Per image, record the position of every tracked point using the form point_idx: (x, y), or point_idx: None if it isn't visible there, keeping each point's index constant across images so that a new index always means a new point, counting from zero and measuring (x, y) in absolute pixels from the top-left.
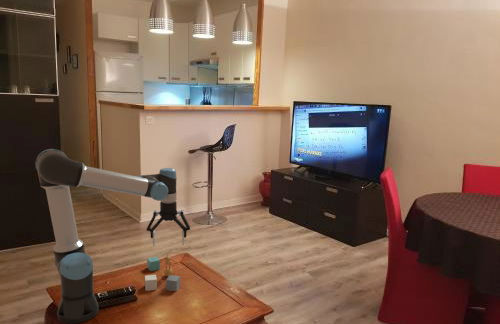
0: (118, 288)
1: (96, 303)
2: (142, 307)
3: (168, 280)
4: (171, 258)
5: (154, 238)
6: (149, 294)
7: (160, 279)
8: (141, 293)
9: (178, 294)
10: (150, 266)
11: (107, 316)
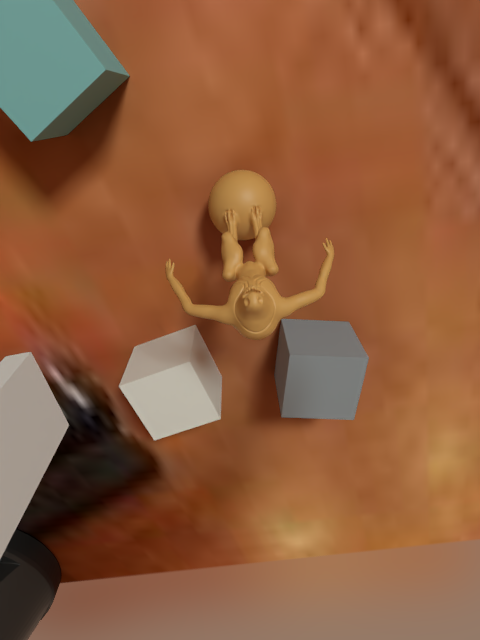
0: None
1: (32, 595)
2: (211, 510)
3: (299, 417)
4: (297, 308)
5: (12, 530)
6: None
7: (199, 258)
8: None
9: None
10: (50, 137)
11: (105, 566)
